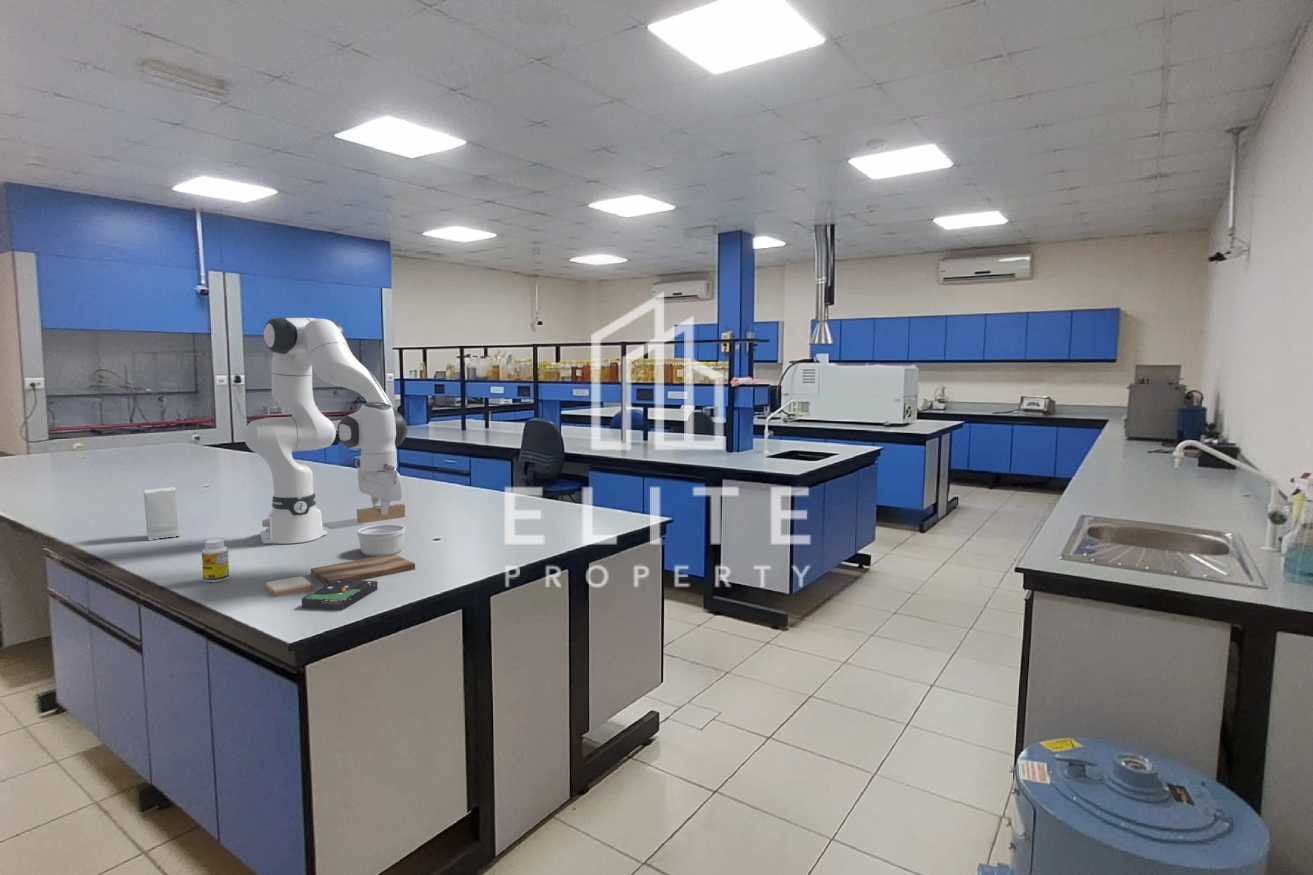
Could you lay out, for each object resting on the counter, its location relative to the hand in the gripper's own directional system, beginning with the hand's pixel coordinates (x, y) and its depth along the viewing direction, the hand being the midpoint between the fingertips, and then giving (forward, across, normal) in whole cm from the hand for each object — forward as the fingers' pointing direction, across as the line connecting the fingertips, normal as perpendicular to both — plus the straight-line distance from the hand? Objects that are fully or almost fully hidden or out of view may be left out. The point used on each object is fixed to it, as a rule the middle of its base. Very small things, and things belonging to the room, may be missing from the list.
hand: (380, 513), depth 179 cm
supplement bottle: (+15, +18, +35) cm, 42 cm away
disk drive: (+16, -18, +17) cm, 29 cm away
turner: (+2, 0, +4) cm, 4 cm away
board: (+15, 0, +5) cm, 16 cm away
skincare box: (+15, +80, +37) cm, 89 cm away
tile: (+15, +2, +24) cm, 28 cm away
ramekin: (+15, +17, -7) cm, 24 cm away
